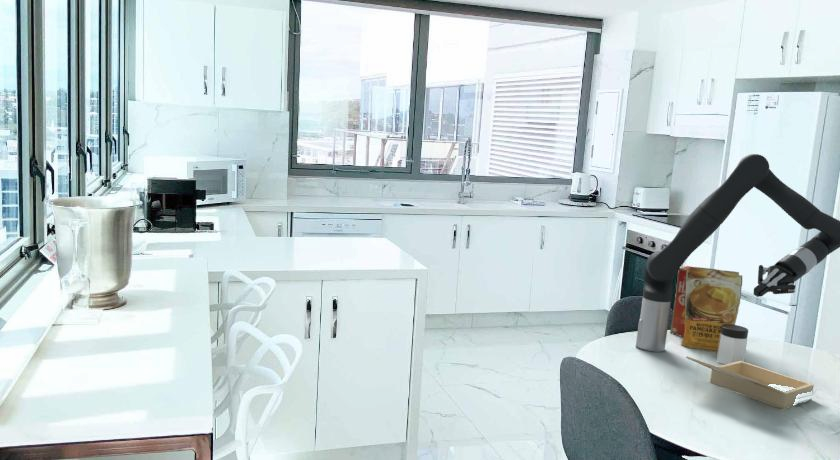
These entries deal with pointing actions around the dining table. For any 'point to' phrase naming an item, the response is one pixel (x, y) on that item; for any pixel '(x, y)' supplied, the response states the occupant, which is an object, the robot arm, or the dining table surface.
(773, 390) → the lid
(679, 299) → the food packaging
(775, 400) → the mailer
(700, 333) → the pancake mix bag
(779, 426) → the dining table surface
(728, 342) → the jar
